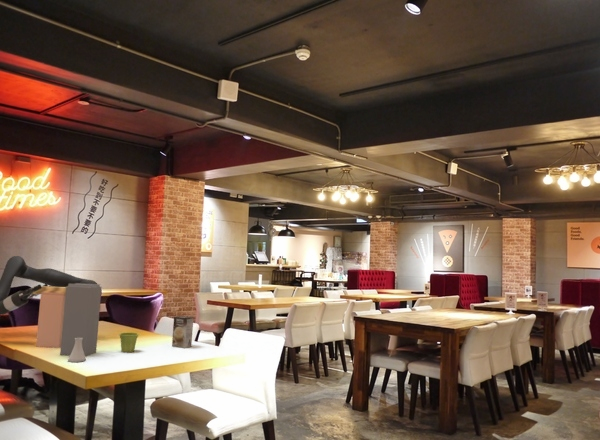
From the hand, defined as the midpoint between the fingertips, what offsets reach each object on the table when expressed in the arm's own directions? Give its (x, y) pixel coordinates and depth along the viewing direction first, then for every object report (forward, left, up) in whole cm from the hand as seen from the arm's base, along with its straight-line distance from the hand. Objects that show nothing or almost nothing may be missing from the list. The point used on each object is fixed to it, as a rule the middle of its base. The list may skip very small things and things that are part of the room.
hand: (44, 285), depth 255 cm
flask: (0, +50, -31) cm, 59 cm away
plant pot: (-29, +40, -30) cm, 58 cm away
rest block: (-5, +6, -30) cm, 31 cm away
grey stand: (-7, +34, -30) cm, 46 cm away
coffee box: (-59, +42, -30) cm, 79 cm away
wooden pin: (-5, +6, -4) cm, 9 cm away
